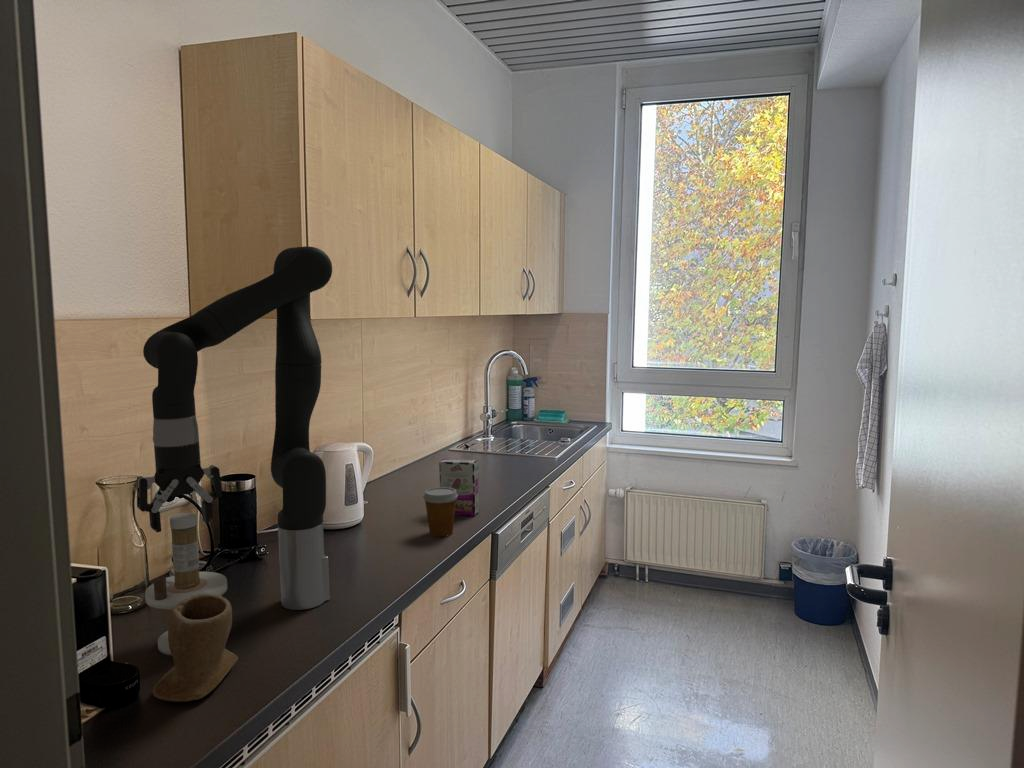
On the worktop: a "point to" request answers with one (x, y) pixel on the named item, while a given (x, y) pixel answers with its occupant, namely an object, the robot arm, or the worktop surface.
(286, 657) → the worktop surface
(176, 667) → the stone cup
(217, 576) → the turntable
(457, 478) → the candy bar box
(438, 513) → the disposable coffee cup
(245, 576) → the worktop surface
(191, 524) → the sprinkles bottle
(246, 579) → the worktop surface
